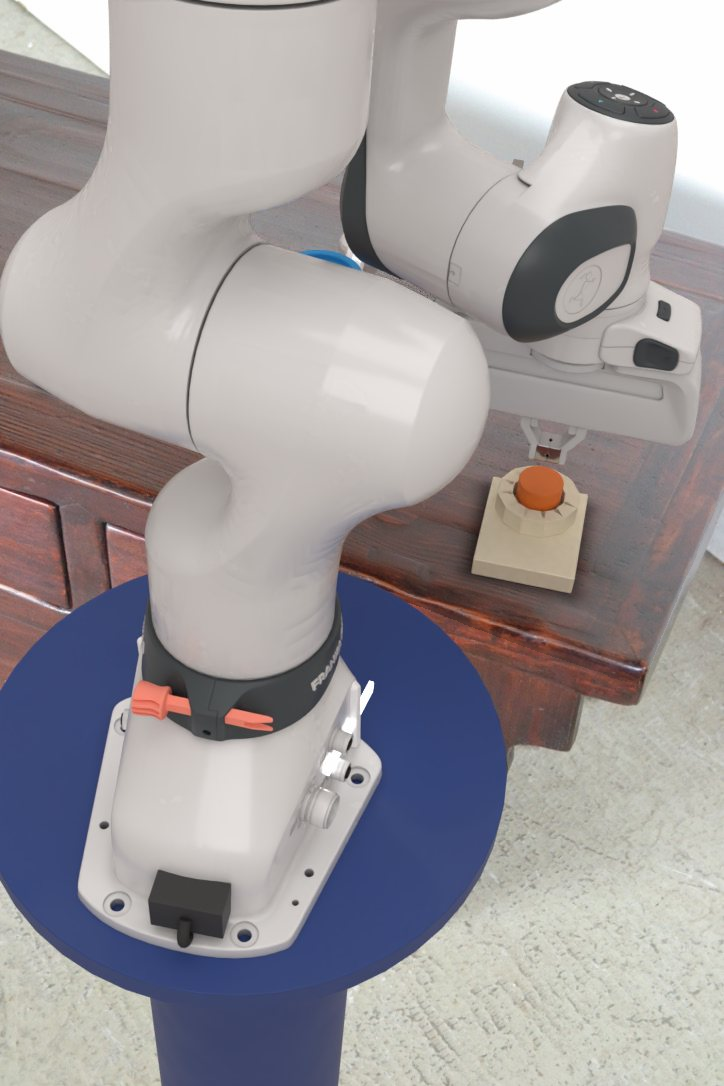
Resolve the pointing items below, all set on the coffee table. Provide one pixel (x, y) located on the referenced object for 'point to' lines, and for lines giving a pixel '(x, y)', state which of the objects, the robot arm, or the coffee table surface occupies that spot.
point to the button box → (530, 537)
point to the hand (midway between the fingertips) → (547, 457)
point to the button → (539, 488)
